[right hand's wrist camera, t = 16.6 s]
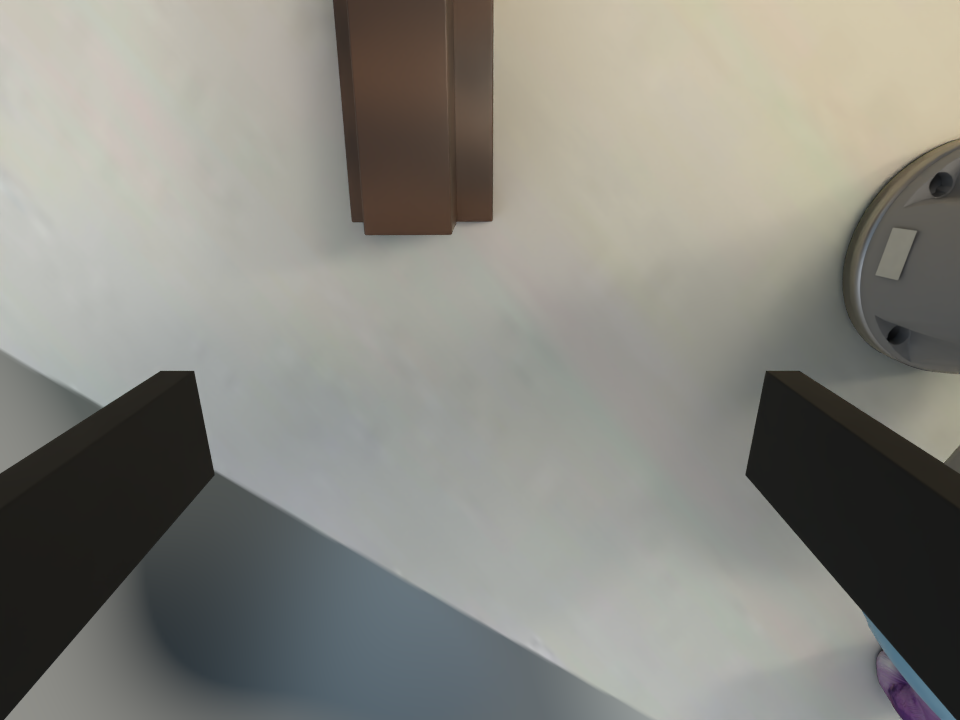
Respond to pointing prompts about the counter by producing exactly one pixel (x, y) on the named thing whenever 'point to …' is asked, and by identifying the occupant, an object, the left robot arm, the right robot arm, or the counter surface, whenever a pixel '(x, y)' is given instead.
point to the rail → (417, 112)
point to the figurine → (901, 692)
